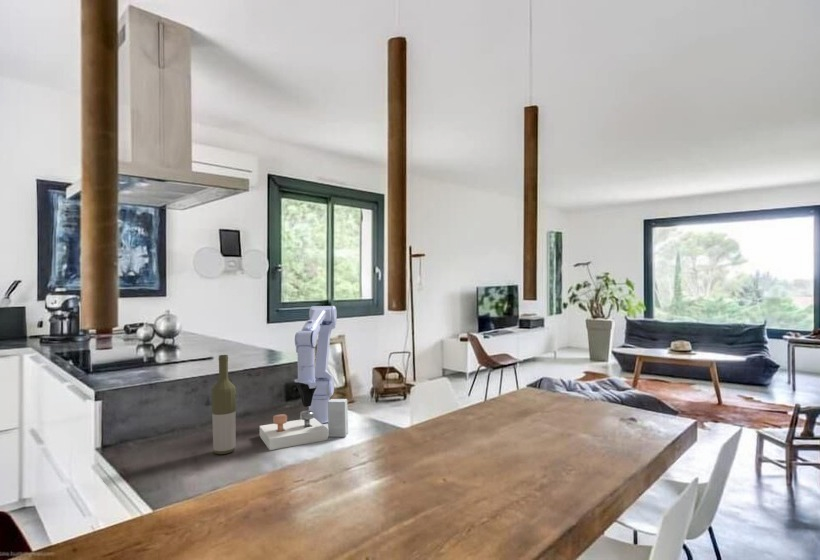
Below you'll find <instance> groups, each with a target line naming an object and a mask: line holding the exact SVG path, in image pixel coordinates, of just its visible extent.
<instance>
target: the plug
mask: <svg viewBox="0 0 820 560" xmlns="http://www.w3.org/2000/svg"><path fill="white" fill-rule="evenodd" d="M299 415H300V416H299V420H300V419H301V420H304V428H306V427H310V419H313V418H314V414H313V411H310V410H309V409H308V410H302V411H300V413H299Z"/></svg>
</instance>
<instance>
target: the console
mask: <svg viewBox="0 0 820 560" xmlns="http://www.w3.org/2000/svg"><path fill="white" fill-rule="evenodd" d="M259 437H260V439H261V440H262V441H263V444H265V445H266V447H267V449H268V450H269V451H273V450H278V449H285V448H290V447H295V446H299V445H300V446H301V445H305V444H310V443H311V444H312V443H317V442H318V443H319V442H322V441H326V440H329V434H328V427H326V426H325V425H324V424H323V423H322V424H321V423H320V422H319V421H317V420H316V419H315V418H313V419H310V427H306V428H304V420H301V419H300V418H299V419H296V420H294V419H293V420H289V421H288V420H287V422H286V423H284V424H283V431H282V432H278V424H274V423H269V424H264V425H259Z"/></svg>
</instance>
